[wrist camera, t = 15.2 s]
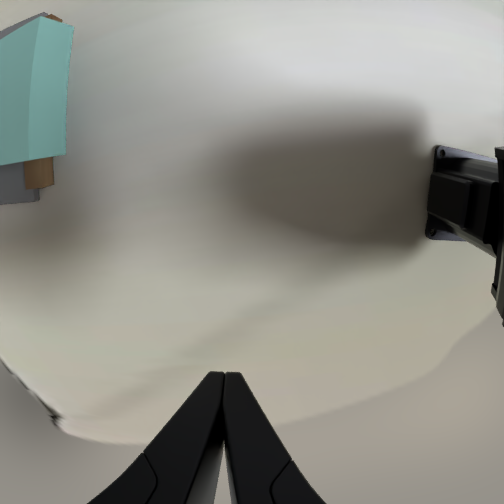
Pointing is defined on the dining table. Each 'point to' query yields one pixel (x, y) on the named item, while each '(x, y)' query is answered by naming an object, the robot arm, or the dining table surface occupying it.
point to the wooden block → (40, 161)
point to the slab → (34, 90)
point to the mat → (12, 175)
